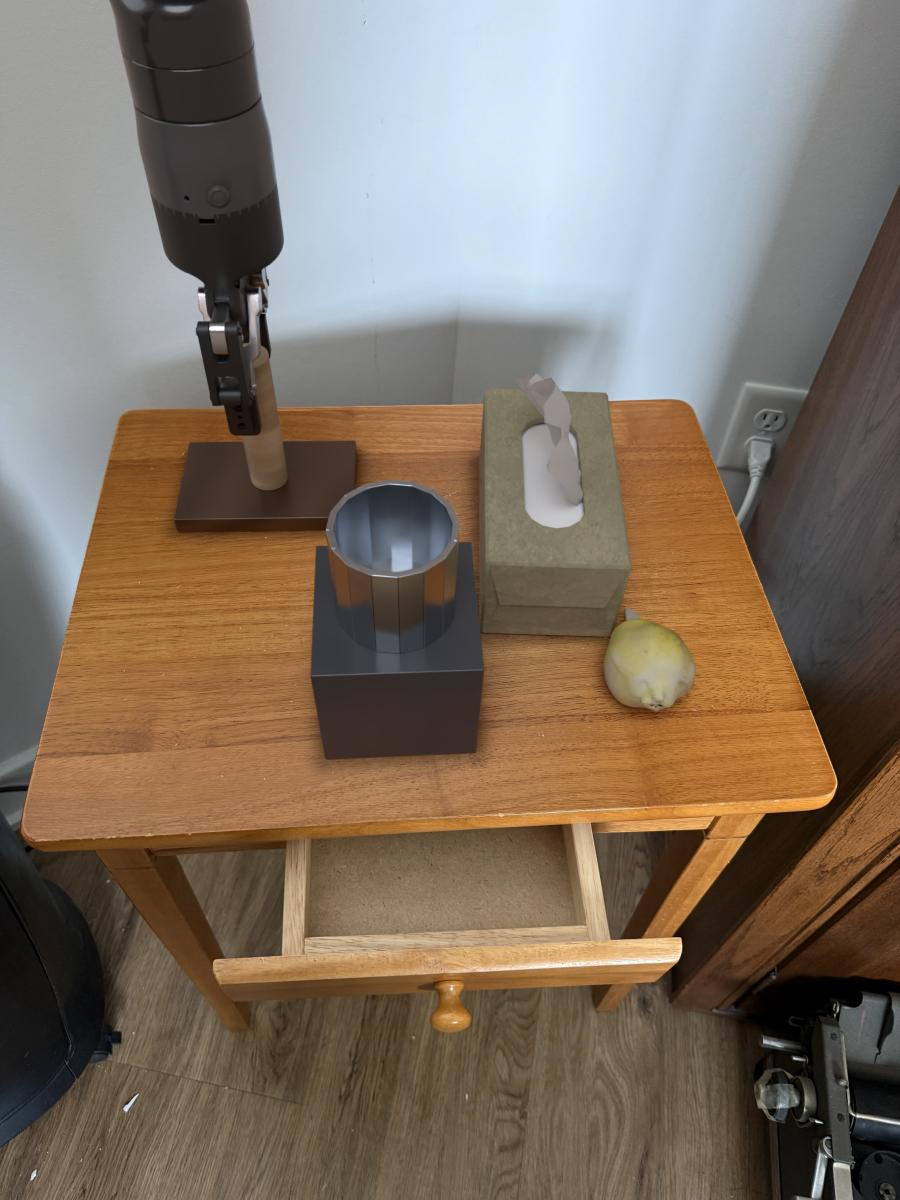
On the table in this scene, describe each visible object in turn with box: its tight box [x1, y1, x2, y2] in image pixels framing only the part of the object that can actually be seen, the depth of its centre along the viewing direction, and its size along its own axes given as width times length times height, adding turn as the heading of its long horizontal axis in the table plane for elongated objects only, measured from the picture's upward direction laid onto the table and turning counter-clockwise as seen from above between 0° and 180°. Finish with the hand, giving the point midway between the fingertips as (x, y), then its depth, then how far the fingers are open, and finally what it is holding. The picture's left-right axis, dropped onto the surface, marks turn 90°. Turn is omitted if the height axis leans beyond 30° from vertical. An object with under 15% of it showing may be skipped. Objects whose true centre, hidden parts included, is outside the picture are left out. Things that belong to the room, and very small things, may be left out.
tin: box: [325, 479, 461, 654], centre depth 51 cm, size 7×7×7 cm
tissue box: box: [478, 372, 633, 638], centre depth 65 cm, size 19×10×16 cm, turn 179°
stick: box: [241, 343, 288, 490], centre depth 68 cm, size 3×3×12 cm
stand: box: [309, 541, 485, 760], centre depth 58 cm, size 10×10×10 cm
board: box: [173, 440, 358, 533], centre depth 73 cm, size 14×9×2 cm, turn 92°
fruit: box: [603, 607, 697, 712], centre depth 62 cm, size 6×6×10 cm
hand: (252, 393), depth 66 cm, fingers open, 8 cm apart
